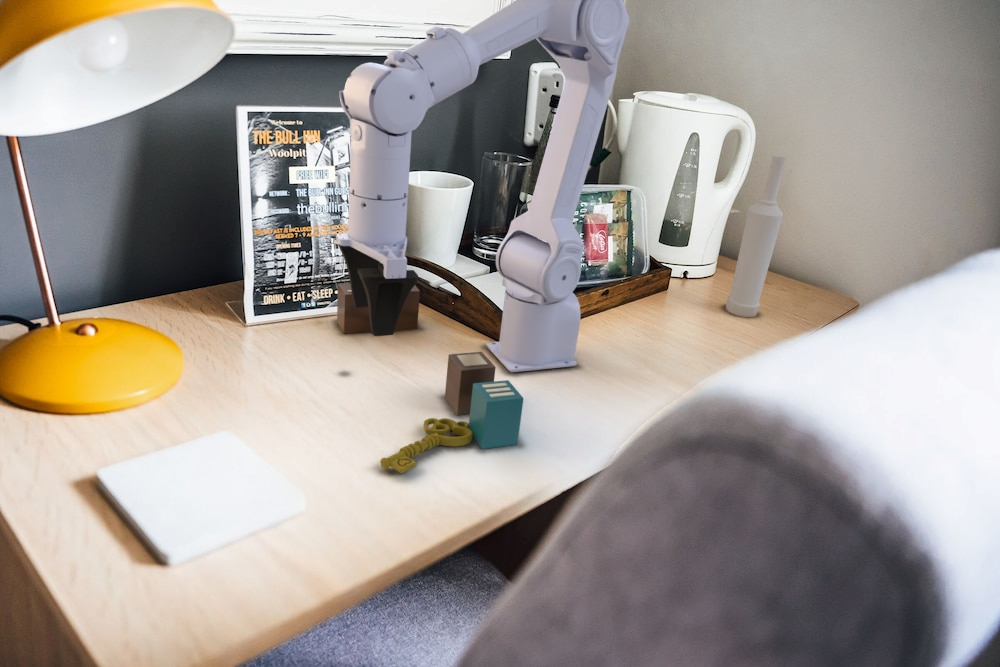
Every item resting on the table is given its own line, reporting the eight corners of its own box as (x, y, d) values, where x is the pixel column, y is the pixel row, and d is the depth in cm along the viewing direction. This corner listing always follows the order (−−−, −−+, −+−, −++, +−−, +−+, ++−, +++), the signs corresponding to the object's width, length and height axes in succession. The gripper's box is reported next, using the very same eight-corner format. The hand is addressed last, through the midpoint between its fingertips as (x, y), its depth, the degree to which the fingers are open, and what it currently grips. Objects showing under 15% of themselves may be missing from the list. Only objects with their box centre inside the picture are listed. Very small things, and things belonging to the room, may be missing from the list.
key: (400, 468, 71) (363, 446, 73) (399, 480, 71) (362, 457, 74) (483, 427, 79) (448, 408, 82) (482, 438, 80) (447, 419, 83)
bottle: (722, 303, 127) (759, 150, 117) (754, 308, 126) (793, 155, 116) (726, 314, 122) (765, 156, 112) (759, 319, 121) (801, 161, 112)
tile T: (366, 320, 105) (367, 281, 102) (374, 331, 101) (375, 292, 99) (336, 321, 103) (337, 282, 101) (343, 334, 100) (345, 293, 97)
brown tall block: (477, 394, 88) (481, 350, 86) (490, 411, 85) (496, 366, 83) (444, 398, 87) (448, 353, 85) (456, 415, 84) (461, 369, 81)
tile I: (408, 317, 107) (411, 279, 105) (417, 328, 104) (420, 289, 101) (380, 319, 105) (382, 280, 103) (388, 330, 102) (390, 291, 100)
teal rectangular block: (502, 425, 83) (508, 378, 80) (517, 444, 79) (524, 397, 77) (467, 429, 81) (472, 382, 79) (481, 449, 78) (487, 400, 76)
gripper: (323, 175, 80) (321, 296, 86) (356, 213, 68) (351, 351, 74) (389, 176, 83) (383, 293, 88) (431, 213, 71) (421, 346, 77)
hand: (373, 319), depth 81 cm, fingers open, 7 cm apart
